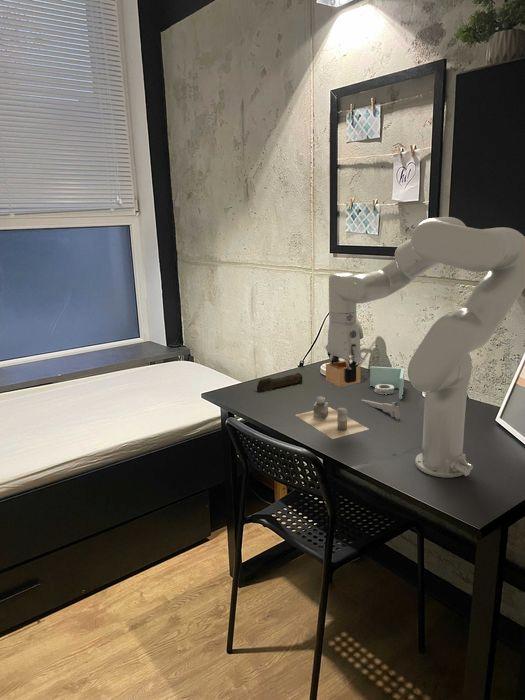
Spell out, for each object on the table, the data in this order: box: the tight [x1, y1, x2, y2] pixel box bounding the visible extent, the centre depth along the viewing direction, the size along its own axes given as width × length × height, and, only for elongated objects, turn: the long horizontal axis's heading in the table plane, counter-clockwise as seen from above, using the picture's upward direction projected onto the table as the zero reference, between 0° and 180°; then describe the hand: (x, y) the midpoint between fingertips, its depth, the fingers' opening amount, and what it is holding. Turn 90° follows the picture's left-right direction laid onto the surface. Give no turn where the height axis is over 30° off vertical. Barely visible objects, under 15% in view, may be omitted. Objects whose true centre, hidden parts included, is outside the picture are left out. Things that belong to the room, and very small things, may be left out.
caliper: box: [360, 399, 401, 420], centre depth 165 cm, size 20×1×6 cm, turn 25°
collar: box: [325, 359, 361, 388], centre depth 147 cm, size 7×7×5 cm
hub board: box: [295, 396, 370, 440], centre depth 156 cm, size 21×13×7 cm, turn 27°
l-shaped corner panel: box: [369, 365, 405, 400], centre depth 182 cm, size 12×12×8 cm
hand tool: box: [256, 372, 303, 393], centre depth 193 cm, size 19×4×5 cm, turn 117°
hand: (343, 378), depth 147 cm, fingers closed on collar, 7 cm apart
